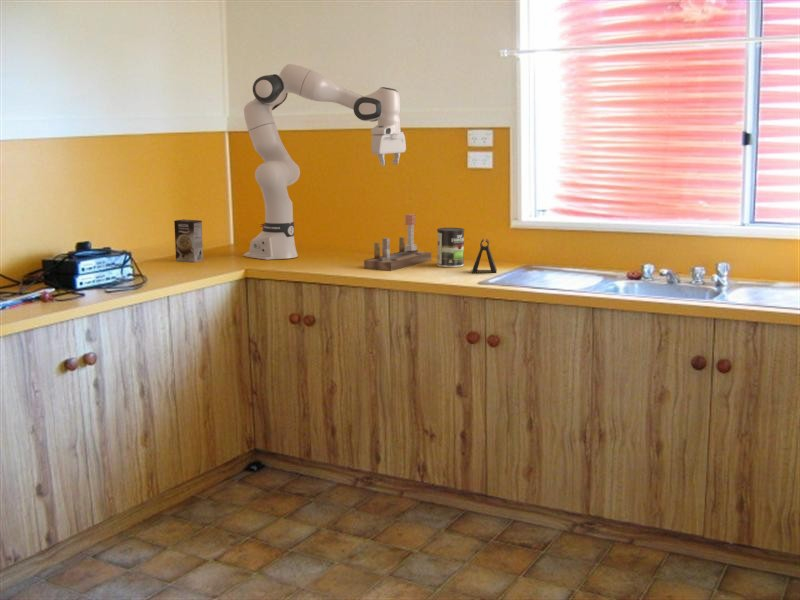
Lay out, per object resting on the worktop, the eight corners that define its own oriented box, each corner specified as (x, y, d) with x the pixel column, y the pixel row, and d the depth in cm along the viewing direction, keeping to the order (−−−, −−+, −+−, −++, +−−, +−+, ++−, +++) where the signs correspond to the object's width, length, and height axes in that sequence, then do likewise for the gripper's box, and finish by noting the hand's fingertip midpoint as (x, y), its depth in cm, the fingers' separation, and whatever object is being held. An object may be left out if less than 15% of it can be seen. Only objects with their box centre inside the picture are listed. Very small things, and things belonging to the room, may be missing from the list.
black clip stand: (496, 271, 364) (497, 238, 362) (496, 273, 358) (496, 241, 356) (472, 270, 365) (472, 238, 363) (471, 273, 359) (471, 240, 357)
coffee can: (469, 265, 376) (469, 229, 373) (450, 268, 370) (450, 231, 367) (450, 262, 384) (451, 226, 381) (431, 265, 377) (431, 228, 374)
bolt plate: (364, 268, 371) (364, 239, 369) (405, 257, 396) (405, 230, 394) (391, 270, 365) (391, 241, 363) (431, 260, 390) (431, 232, 388)
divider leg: (404, 250, 386) (404, 214, 384) (409, 249, 390) (409, 213, 387) (411, 251, 385) (411, 215, 382) (416, 249, 388) (416, 214, 385)
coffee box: (175, 261, 389) (173, 220, 386) (184, 258, 395) (182, 218, 392) (194, 262, 386) (192, 221, 383) (203, 260, 392) (202, 219, 389)
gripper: (396, 129, 396) (396, 163, 399) (368, 130, 379) (368, 166, 381) (409, 129, 393) (409, 164, 395) (382, 130, 376) (382, 166, 378)
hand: (389, 165), depth 388 cm, fingers open, 8 cm apart
